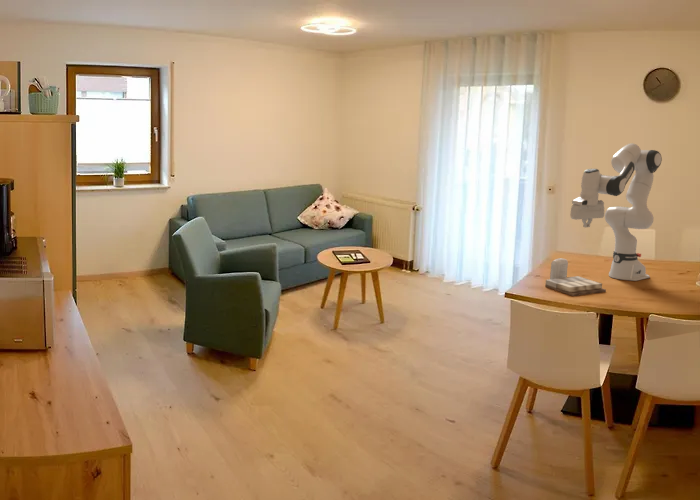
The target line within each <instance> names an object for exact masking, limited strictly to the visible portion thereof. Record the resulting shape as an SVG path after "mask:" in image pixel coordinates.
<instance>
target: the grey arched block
mask: <svg viewBox="0 0 700 500" xmlns="http://www.w3.org/2000/svg"><path fill="white" fill-rule="evenodd" d="M568 265H569V262H568V259H566V258H561V257H560V258H556V259H554V260H552V261H551V264H550V274H549V275H550V276H549V279H557V278H566V277H567V275H568V267H569V266H568Z"/></svg>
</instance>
